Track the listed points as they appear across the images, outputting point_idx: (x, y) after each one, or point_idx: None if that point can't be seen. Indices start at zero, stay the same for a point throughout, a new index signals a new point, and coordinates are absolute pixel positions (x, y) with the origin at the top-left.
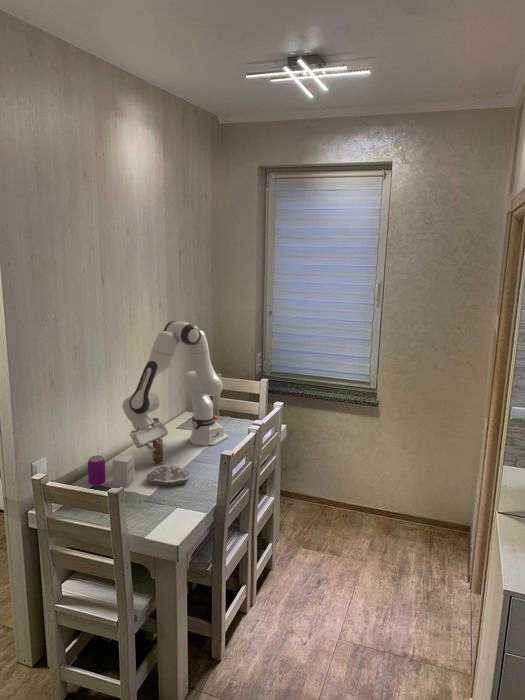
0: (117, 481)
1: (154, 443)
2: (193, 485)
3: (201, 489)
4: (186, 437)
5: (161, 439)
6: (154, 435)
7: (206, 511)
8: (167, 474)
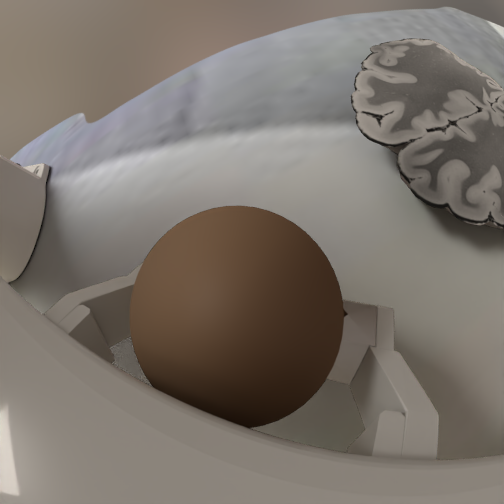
0: None
1: (306, 359)
2: None
3: (418, 26)
4: None
5: (84, 309)
6: (72, 451)
7: (481, 18)
8: (472, 118)
